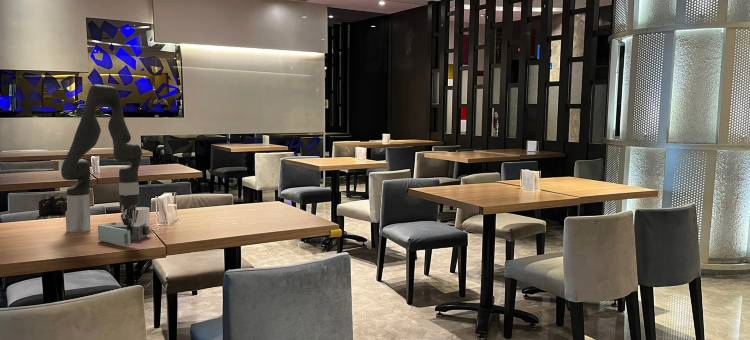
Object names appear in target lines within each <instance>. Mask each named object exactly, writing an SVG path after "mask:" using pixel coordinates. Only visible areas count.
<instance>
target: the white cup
mask: <svg viewBox="0 0 750 340" xmlns="http://www.w3.org/2000/svg"><path fill="white" fill-rule="evenodd" d="M136 210H138V215H137V220H136V223H146V226H149V227H150V211H151V210H150V207H147V206H139V207H137V206H136Z"/></svg>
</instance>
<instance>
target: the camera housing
mask: <svg viewBox="0 0 750 340" xmlns="http://www.w3.org/2000/svg"><path fill="white" fill-rule="evenodd" d="M104 226H109V227H114V228H120V229H125V230H127V226H126V225H124V223H123V222H109V223H106V224H104ZM149 235H150V225H149V226H146V223H135V224H134V234H133V235H130V242H132V241H135V242H137V241H138V242H139V241H141V240H143V239H144V238H146V237H147V236H149Z"/></svg>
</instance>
